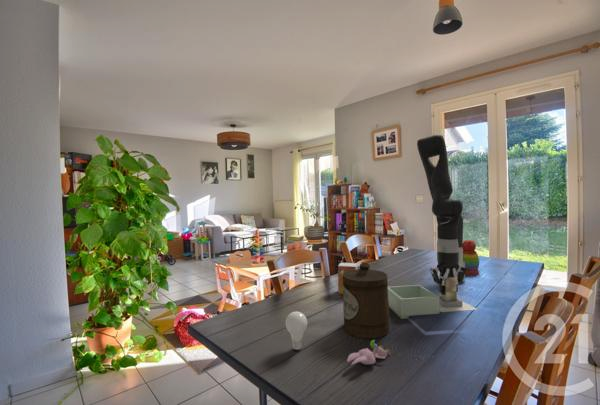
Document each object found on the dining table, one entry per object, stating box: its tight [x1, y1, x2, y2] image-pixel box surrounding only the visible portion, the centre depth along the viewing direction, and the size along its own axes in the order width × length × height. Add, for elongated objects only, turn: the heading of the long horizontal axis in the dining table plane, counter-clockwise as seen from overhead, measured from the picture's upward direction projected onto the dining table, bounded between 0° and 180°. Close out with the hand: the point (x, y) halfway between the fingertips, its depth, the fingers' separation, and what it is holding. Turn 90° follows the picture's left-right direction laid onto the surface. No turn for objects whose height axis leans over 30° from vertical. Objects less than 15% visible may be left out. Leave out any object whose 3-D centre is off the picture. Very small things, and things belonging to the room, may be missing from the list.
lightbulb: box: [285, 311, 308, 351], centre depth 86 cm, size 6×6×11 cm
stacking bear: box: [462, 239, 480, 276], centre depth 159 cm, size 11×10×18 cm
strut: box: [440, 276, 458, 301], centre depth 114 cm, size 4×4×10 cm
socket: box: [437, 295, 478, 313], centre depth 114 cm, size 14×14×3 cm
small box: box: [337, 262, 358, 295], centre depth 133 cm, size 8×6×13 cm
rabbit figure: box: [346, 339, 392, 366], centre depth 78 cm, size 6×6×15 cm
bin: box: [388, 284, 440, 320], centre depth 112 cm, size 14×14×7 cm
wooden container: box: [342, 261, 390, 339], centre depth 98 cm, size 15×15×22 cm
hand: (448, 293), depth 114 cm, fingers closed on strut, 4 cm apart
